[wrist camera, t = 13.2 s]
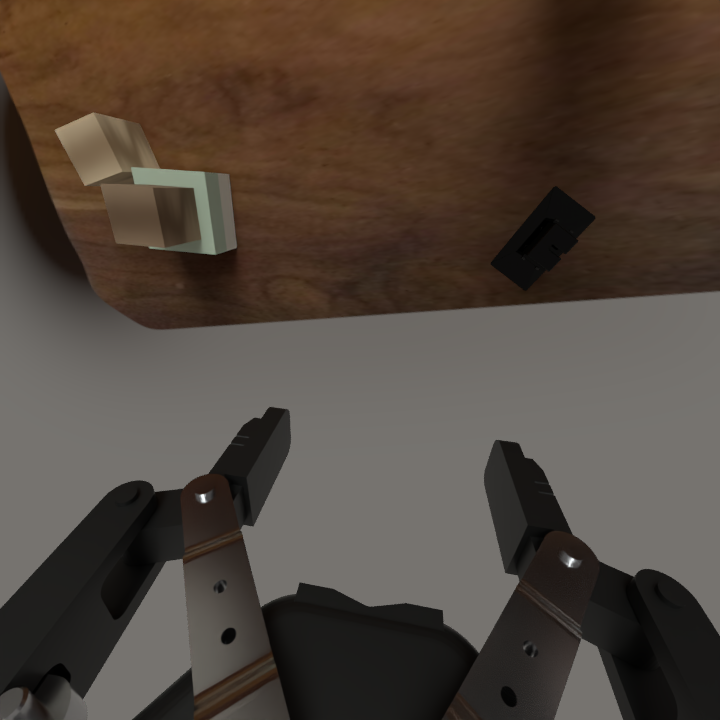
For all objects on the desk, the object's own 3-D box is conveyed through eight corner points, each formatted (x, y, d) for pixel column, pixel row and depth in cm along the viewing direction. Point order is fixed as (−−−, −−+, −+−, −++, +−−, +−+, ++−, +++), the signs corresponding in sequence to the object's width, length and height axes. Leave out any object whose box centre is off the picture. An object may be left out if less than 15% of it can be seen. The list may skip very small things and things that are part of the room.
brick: (105, 138, 37) (54, 130, 32) (140, 123, 36) (93, 112, 31) (128, 186, 40) (84, 185, 34) (162, 174, 38) (122, 171, 33)
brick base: (163, 169, 38) (130, 166, 34) (229, 174, 37) (204, 172, 33) (177, 242, 42) (149, 248, 37) (237, 247, 41) (215, 254, 37)
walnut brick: (148, 184, 34) (100, 183, 29) (193, 187, 34) (152, 187, 28) (159, 235, 36) (116, 243, 31) (201, 239, 36) (165, 247, 31)
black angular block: (519, 303, 40) (530, 316, 36) (471, 268, 39) (478, 278, 35) (610, 209, 34) (636, 212, 30) (557, 165, 33) (576, 162, 29)
